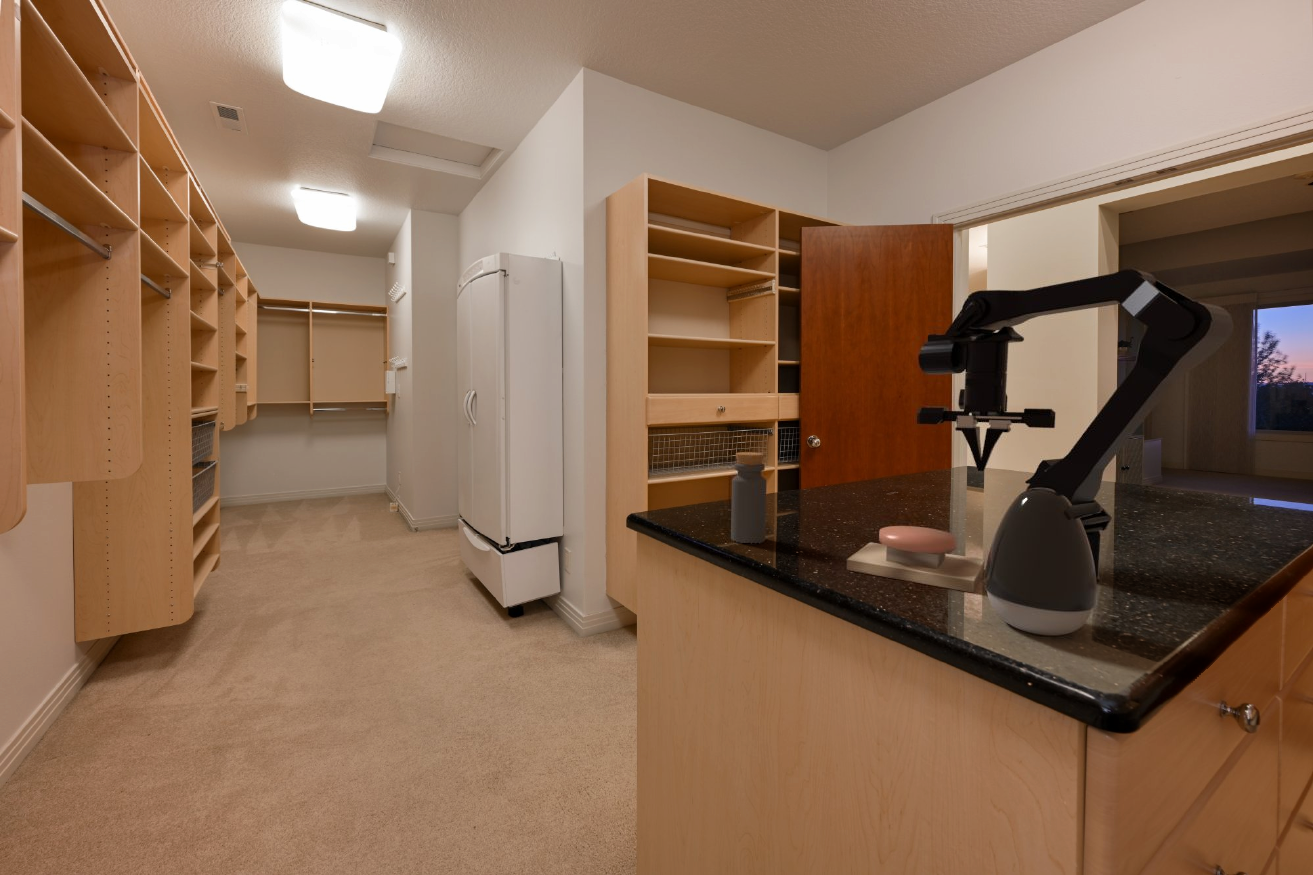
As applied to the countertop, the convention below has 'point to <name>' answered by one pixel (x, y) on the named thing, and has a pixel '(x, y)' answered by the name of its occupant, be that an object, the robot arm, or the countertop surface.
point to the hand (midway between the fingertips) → (981, 470)
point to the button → (917, 539)
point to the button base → (918, 566)
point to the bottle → (748, 499)
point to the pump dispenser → (1042, 564)
